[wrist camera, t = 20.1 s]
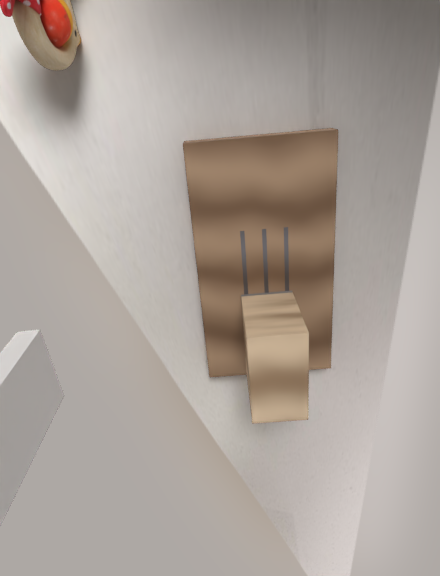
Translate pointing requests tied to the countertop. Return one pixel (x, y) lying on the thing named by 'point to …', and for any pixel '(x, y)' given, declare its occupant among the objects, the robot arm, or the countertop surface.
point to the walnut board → (263, 233)
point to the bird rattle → (46, 30)
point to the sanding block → (276, 357)
